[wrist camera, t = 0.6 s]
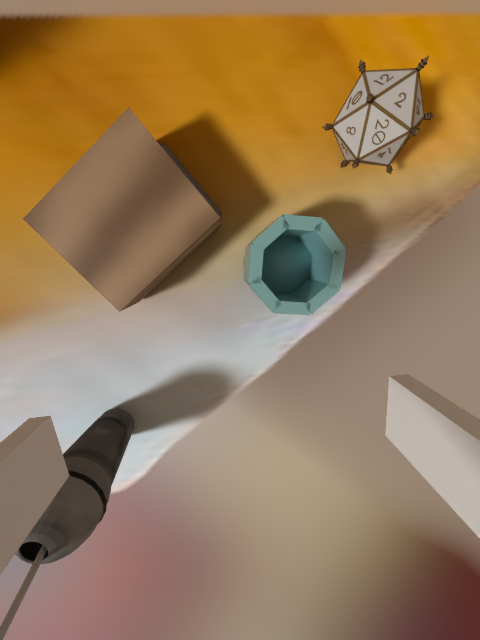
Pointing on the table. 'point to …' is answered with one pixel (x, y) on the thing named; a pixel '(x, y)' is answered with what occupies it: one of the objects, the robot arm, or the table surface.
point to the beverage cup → (76, 498)
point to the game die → (380, 115)
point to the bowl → (295, 264)
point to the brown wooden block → (124, 214)
